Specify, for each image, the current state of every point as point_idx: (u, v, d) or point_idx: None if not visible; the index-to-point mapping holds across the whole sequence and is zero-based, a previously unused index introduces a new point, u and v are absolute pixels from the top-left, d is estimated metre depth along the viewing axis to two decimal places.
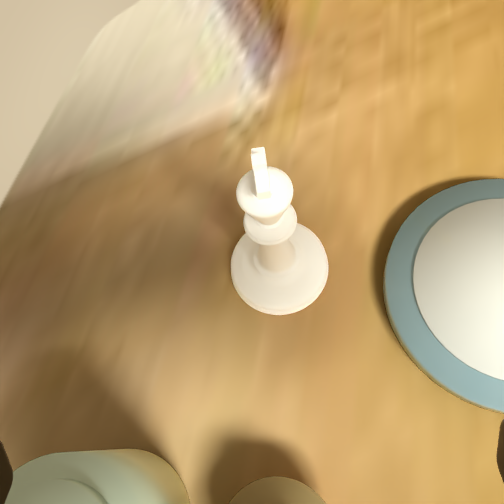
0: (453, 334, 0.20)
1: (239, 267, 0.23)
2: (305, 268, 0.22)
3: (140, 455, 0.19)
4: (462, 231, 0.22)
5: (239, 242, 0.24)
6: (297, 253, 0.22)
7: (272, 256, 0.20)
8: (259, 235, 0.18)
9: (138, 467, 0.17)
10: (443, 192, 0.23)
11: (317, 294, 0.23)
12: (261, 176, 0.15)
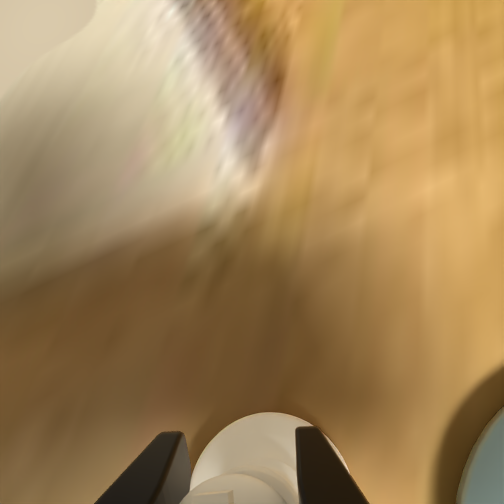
0: None
1: None
2: None
3: None
4: None
5: (203, 457, 0.14)
6: None
7: None
8: None
9: None
10: None
11: None
12: None
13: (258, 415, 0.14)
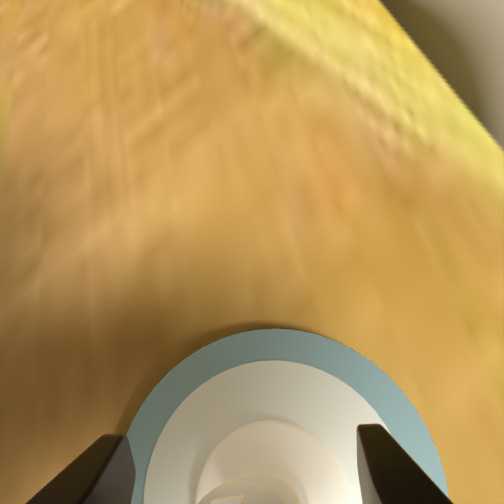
0: None
1: None
2: None
3: None
4: (199, 430, 0.16)
5: (210, 461, 0.15)
6: None
7: None
8: None
9: None
10: (171, 373, 0.17)
11: None
12: None
13: (261, 423, 0.15)
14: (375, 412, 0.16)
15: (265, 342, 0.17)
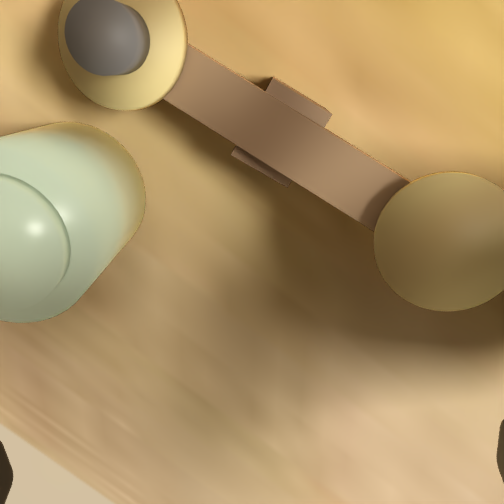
0: None
1: None
2: None
3: None
4: None
5: None
6: None
7: None
8: None
9: None
10: None
11: None
12: None
13: None
14: None
15: None
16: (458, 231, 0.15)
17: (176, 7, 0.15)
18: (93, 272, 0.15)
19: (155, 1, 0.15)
